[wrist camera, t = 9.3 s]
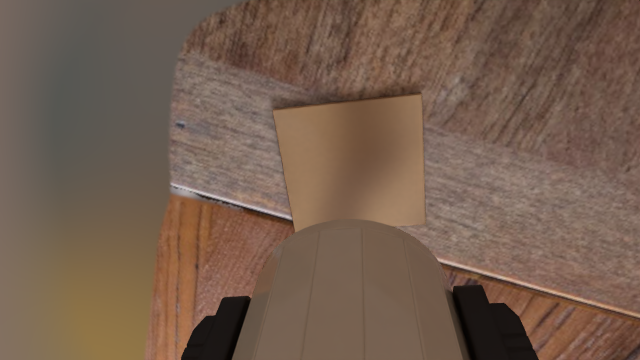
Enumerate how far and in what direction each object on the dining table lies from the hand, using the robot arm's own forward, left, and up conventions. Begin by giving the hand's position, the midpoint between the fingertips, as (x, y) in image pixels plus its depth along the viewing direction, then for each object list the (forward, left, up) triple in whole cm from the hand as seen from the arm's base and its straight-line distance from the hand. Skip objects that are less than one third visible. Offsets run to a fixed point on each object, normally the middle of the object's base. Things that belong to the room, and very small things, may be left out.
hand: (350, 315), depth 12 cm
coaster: (0, 0, -10) cm, 10 cm away
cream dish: (0, 0, -1) cm, 1 cm away
